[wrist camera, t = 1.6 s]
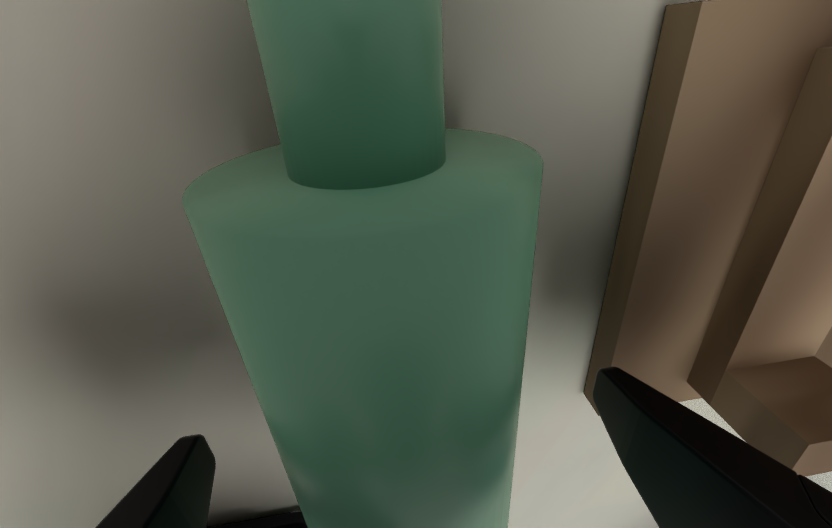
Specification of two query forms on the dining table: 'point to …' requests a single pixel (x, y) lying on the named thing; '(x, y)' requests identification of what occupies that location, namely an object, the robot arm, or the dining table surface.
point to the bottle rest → (733, 226)
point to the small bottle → (376, 270)
